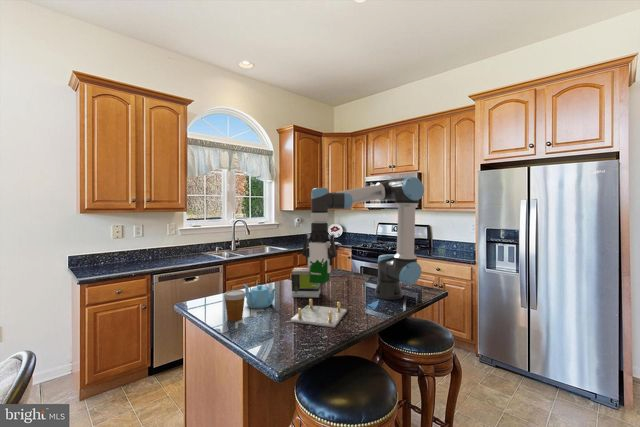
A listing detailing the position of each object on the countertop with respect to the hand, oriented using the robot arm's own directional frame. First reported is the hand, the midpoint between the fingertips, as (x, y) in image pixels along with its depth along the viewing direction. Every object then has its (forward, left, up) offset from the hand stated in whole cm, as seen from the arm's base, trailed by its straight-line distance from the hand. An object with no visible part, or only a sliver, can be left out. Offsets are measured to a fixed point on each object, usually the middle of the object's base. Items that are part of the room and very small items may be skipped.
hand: (319, 271), depth 144 cm
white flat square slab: (0, 0, -21) cm, 21 cm away
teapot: (+34, -4, -21) cm, 40 cm away
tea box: (+18, -29, -21) cm, 40 cm away
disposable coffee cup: (+35, +15, -21) cm, 43 cm away
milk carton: (0, 0, -5) cm, 5 cm away
